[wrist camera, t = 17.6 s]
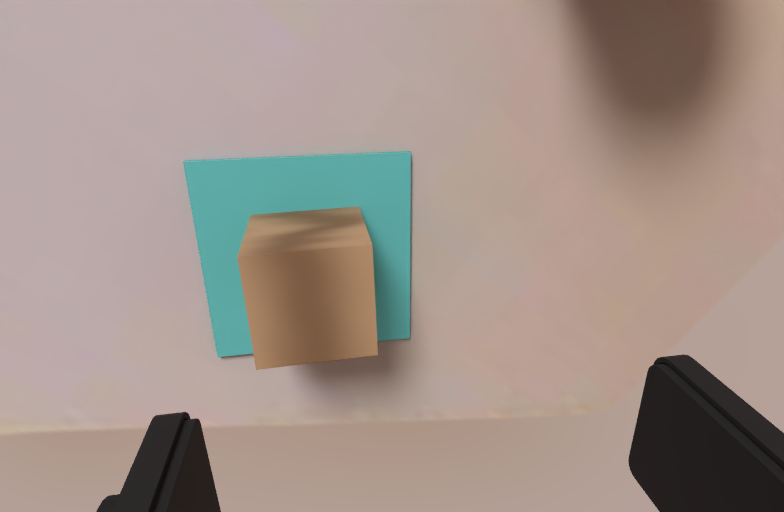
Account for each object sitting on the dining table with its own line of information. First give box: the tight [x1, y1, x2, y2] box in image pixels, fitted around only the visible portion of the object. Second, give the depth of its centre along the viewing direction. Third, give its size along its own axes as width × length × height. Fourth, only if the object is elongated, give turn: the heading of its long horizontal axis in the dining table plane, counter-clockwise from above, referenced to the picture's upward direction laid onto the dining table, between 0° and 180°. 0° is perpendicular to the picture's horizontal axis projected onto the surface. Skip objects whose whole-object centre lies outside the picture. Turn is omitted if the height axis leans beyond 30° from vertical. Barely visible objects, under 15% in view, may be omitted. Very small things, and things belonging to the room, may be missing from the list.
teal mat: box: [183, 151, 411, 357], centre depth 29 cm, size 12×12×1 cm
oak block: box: [237, 206, 378, 370], centre depth 26 cm, size 6×6×6 cm
